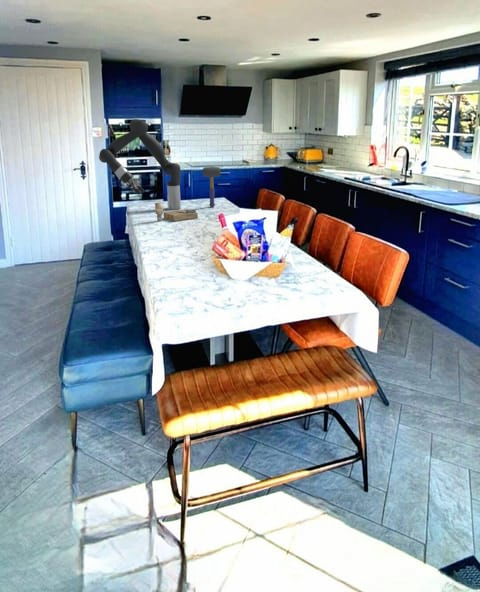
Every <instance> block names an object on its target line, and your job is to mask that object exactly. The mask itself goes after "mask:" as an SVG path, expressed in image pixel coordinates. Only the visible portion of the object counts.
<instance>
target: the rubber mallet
mask: <svg viewBox="0 0 480 592" xmlns="http://www.w3.org/2000/svg"><path fill="white" fill-rule="evenodd" d="M202 176H203V177H204V178H209V207H210V208H215V205H216V203H215V188H214V178H216V177H217V178H219V177H221V168H220V167H219V166H207V167H204V166H203V168H202Z"/></svg>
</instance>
